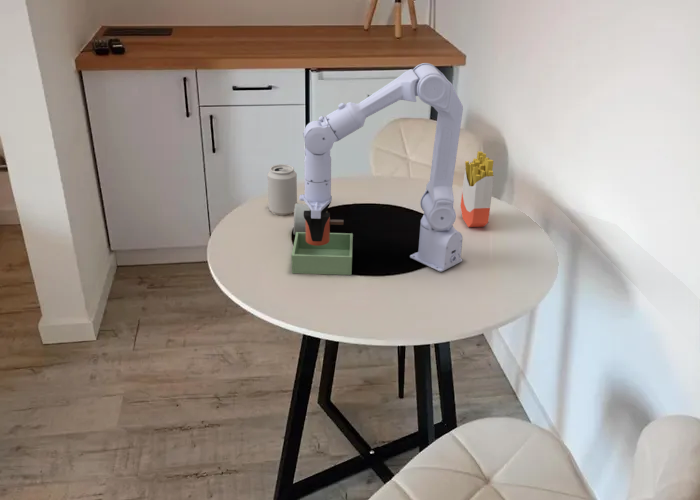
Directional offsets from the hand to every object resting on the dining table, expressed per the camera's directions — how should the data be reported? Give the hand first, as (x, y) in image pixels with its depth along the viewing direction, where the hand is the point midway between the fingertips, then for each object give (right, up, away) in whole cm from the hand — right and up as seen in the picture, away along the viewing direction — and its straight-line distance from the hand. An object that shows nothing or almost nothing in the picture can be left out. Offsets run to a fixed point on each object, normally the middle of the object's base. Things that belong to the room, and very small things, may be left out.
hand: (317, 234), depth 152 cm
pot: (+1, -1, +1) cm, 2 cm away
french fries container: (+39, +4, +24) cm, 46 cm away
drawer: (+1, -6, +3) cm, 7 cm away
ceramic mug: (-3, +1, +17) cm, 17 cm away
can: (-11, +7, +28) cm, 30 cm away
